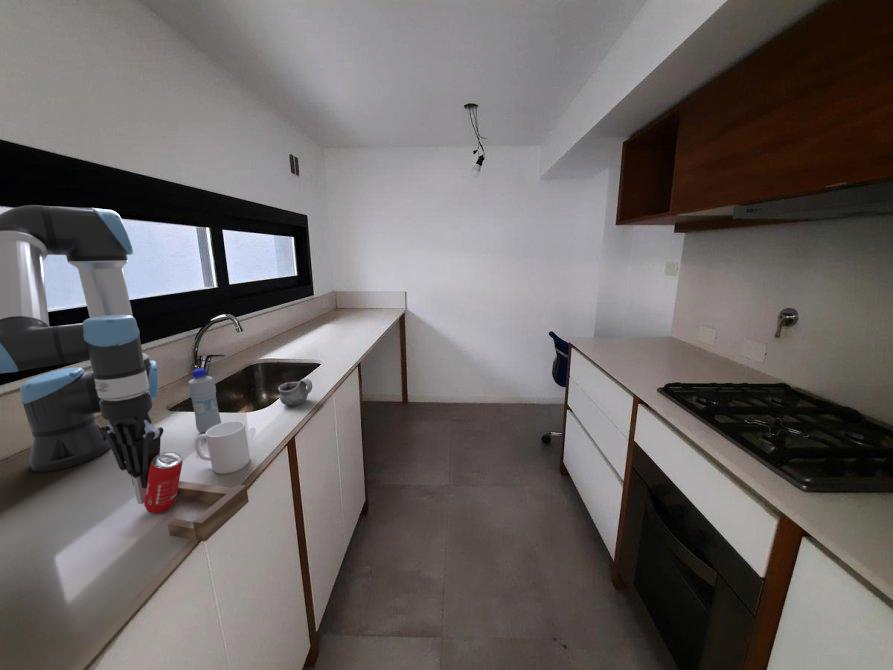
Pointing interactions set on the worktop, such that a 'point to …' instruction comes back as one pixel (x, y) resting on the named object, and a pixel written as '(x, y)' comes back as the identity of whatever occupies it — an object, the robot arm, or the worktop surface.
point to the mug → (295, 392)
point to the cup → (225, 447)
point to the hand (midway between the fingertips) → (146, 499)
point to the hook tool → (214, 517)
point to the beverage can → (163, 482)
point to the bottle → (204, 400)
